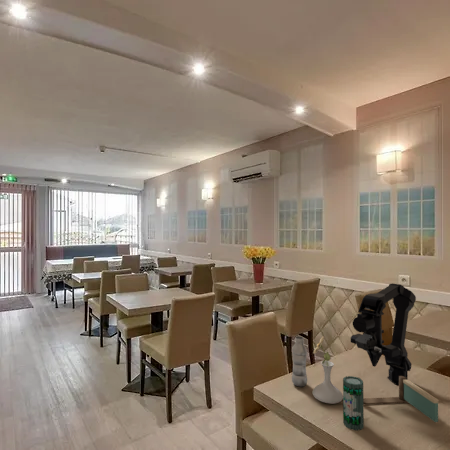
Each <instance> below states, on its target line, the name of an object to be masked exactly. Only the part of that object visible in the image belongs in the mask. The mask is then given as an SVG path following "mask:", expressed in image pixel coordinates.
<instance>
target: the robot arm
mask: <svg viewBox="0 0 450 450" xmlns="http://www.w3.org/2000/svg"><path fill="white" fill-rule="evenodd" d="M391 300H392V304H393V305H394V307H395V315H394V321H393V322H394V323H393V331H392V337H391V343H389V344H386V345H384V344H385V340H383V335H382V334H384V332H385V330H384V329H383V327H382V326H383V325H382V317H383V316H384V315H385V313H384V312H383V311H384V309H385V308H386V307H387V306H386V305H387V303H388V302H389V301H391ZM416 300H417V297H416V295H415V293H413V291H411V290H410V289H408V288H405V286H404V285H402V284H399V283H389V284H388V286H386V287H384V288H383V289H381V290H380V291H378V292H375V293H368V294H365V295H364V296H363V297H362V301H361V303H360V305H359V307H358V310H357V311H358V313H357V316H356V317H355V318H354V319H352V326H353V327H352V328H353V329H354V330H355V331H356V332H358V333H356V334H352V335H351V336H350V343H352V344H354V345H356V347H357V348H358V349H362V350H363V351H365V352H367V355H368V357H369V360H370V363H371V364H372V365H371V366H372V367H375V368H376V366H377V365H378V363H379V361H380V359H381V357H382V356H384V360H385V365H387V366H388V367H389V368H388V376H387V377H386V378H387V379H389V381H391V382H392V383H393V384H394V385H396V386H399V376H404V377H406V380H409V379H408V372H410V371H411V369H412V365H413V364H412V362H411V361H410V359H409V358H408V356H409V355H408V350H407V348H406V347H405V344H406V343H405V342H406V335H407V328H408V327H407V326H408V319H409V314H410V313H409V312H410V311H411V310H412V309H413V308H414V306H415V303H416ZM361 333H362V334H361Z"/></svg>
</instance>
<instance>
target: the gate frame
mask: <svg viewBox="0 0 450 450" xmlns="http://www.w3.org/2000/svg"><path fill="white" fill-rule="evenodd" d="M356 377H357V376H356ZM357 378H360V379H361V380H362V381H363V380H364V379H362V378H361V377H357ZM403 380H406V377H404V376H399V385H398V396H390V397H387V396H386V397H370V398H369V397H368V398H367V397H366V398H365V397H363V406H364V405H365V406H368V405H387V404H389V405H390V404H391V405H393V404H408V403H409V402H407V401H406V400H405V399H404V383H403ZM363 382H364V381H363Z"/></svg>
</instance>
